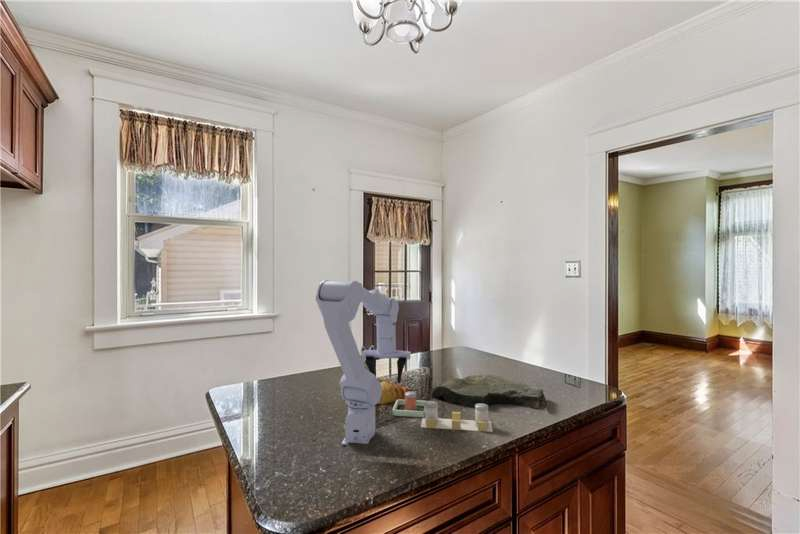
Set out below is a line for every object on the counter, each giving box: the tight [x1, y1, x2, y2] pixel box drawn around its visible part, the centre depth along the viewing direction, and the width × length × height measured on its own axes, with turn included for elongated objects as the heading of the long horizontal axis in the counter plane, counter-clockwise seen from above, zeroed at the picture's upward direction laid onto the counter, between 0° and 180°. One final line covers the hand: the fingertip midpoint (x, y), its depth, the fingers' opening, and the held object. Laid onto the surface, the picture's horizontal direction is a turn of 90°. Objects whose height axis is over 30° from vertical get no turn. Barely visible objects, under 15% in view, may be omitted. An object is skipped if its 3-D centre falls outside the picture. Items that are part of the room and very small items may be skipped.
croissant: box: [376, 380, 413, 405], centre depth 127 cm, size 21×10×8 cm, turn 112°
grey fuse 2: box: [474, 403, 489, 428], centre depth 105 cm, size 4×4×6 cm
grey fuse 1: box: [424, 400, 439, 425], centre depth 107 cm, size 4×4×6 cm
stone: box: [430, 374, 547, 410], centre depth 128 cm, size 35×6×29 cm
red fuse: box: [404, 390, 417, 411], centre depth 116 cm, size 4×4×6 cm
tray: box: [391, 399, 428, 418], centre depth 116 cm, size 9×10×2 cm
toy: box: [359, 345, 375, 372], centre depth 147 cm, size 6×19×15 cm, turn 16°
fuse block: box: [420, 411, 494, 433], centre depth 106 cm, size 6×20×3 cm, turn 81°
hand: (386, 381), depth 115 cm, fingers open, 7 cm apart
